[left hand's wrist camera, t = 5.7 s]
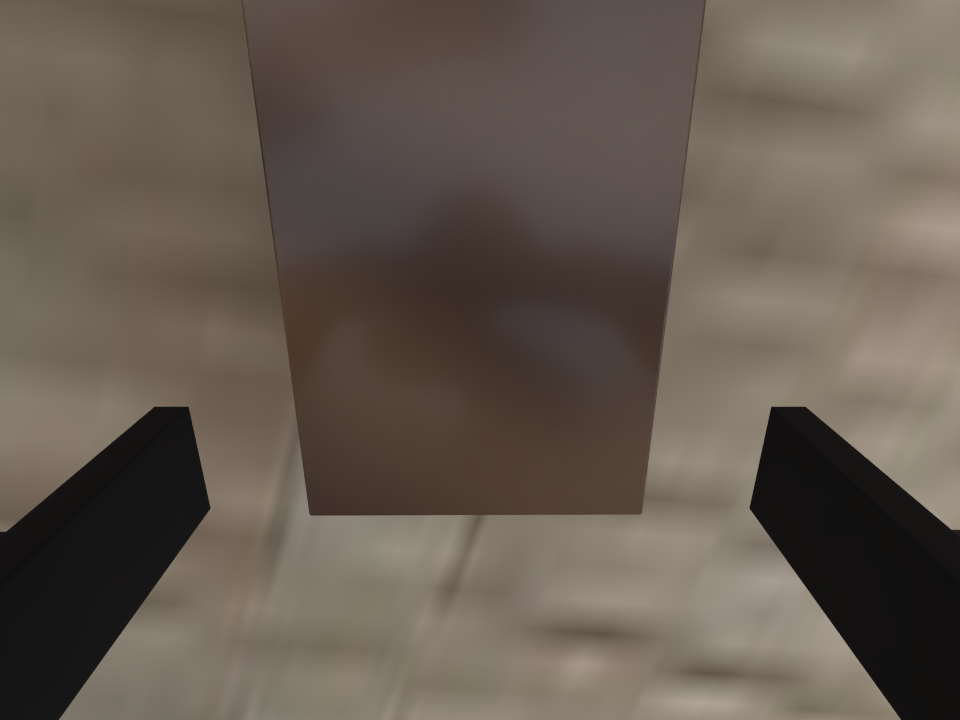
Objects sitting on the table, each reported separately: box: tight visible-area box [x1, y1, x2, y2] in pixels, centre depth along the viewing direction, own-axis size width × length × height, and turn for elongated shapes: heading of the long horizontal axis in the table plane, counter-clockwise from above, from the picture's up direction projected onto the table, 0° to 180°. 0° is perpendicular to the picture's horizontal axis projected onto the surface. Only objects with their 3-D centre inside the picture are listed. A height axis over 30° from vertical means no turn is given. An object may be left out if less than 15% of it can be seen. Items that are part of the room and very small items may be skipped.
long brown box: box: [242, 0, 706, 515], centre depth 20 cm, size 17×10×11 cm, turn 0°
